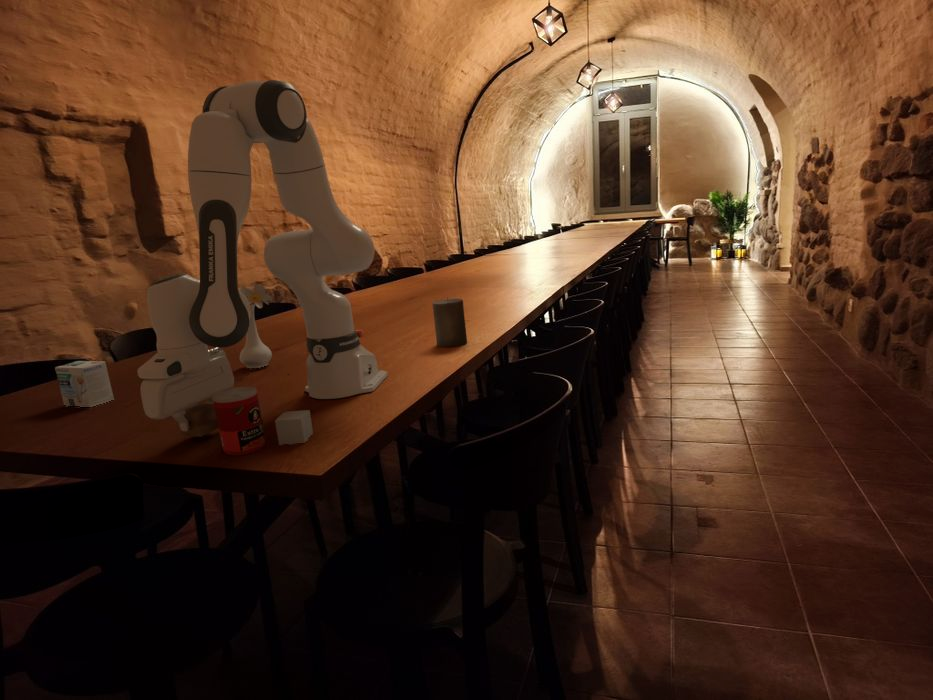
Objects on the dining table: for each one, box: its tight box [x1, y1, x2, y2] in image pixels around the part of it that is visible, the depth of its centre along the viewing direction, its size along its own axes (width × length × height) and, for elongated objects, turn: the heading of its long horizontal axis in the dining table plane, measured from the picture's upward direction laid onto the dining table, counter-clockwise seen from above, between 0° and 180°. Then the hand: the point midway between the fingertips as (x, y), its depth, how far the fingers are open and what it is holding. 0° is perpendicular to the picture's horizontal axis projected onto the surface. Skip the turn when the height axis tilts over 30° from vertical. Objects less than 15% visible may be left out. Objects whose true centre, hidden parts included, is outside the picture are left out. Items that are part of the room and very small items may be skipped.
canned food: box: [213, 386, 266, 456], centre depth 109 cm, size 8×8×11 cm
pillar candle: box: [432, 296, 468, 348], centre depth 182 cm, size 10×10×15 cm
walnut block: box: [180, 403, 219, 438], centre depth 117 cm, size 5×5×5 cm
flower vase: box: [239, 283, 273, 370], centre depth 173 cm, size 13×18×25 cm
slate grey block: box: [274, 409, 314, 446], centre depth 112 cm, size 5×5×5 cm
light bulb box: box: [54, 360, 115, 408], centre depth 151 cm, size 11×7×11 cm, turn 68°
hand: (199, 423), depth 118 cm, fingers closed on walnut block, 5 cm apart
